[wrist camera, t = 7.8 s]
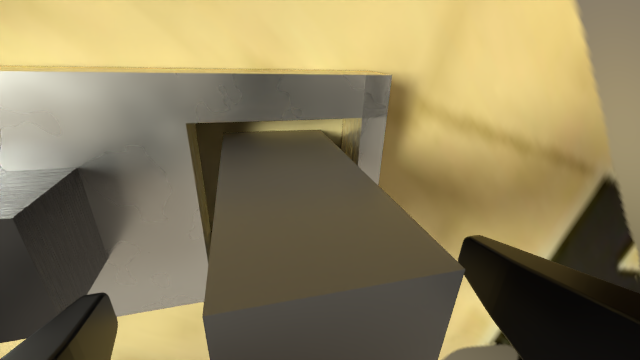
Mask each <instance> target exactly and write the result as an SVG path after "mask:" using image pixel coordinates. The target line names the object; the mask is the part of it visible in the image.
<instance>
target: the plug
mask: <svg viewBox="0 0 640 360" xmlns="http://www.w3.org/2000/svg"><path fill="white" fill-rule="evenodd" d="M464 272H465V269H464V268H463V267H462V266H461V265H460V264H459V263H458V262H457V261H456V260H455V259H454V258H453V257H452V256H451V255H450V254H449V253H448V252H447V251H446V250H445V249H444V248H443V247H442V246H441V245H439V244H438V243H437V242H436V241H435V240H434V239H433V238H432V237H431V236H430V235H429V234H428V233H427V232H426V231H425V230H424V229H423V228H422V227H421V226H420V225H419V224H418V223H417V222H416V221H415V220H413V219H412V218H411V217H410V216H409V215H408V214H407V213H406V212H405V211H404V210H403V209H402V208H401V207H400V206H399V205H398V204H397V203H396V202H395V201H394V200H393V199H392V198H391V197H390V196H389V195H387V194H386V193H385V192H384V191H383V190H382V189H381V188H380V187H379V186H378V185H377V184H376V183H375V182H374V181H373V180H372V179H371V178H370V177H369V176H368V175H367V174H366V173H365V172H364V171H363V170H361V169H360V168H359V167H358V166H357V165H356V164H355V163H354V162H353V161H352V160H351V159H350V158H349V157H348V156H347V155H346V154H345V153H344V152H343V151H342V150H341V149H340V148H339V147H338V146H337V145H336V144H334V143H333V142H332V141H331V140H330V139H329V138H328V137H327V136H326V135H325V134H324V133H323V132H322V131H321V130H298V131H265V132H232V133H223V141H222V149H221V158H220V167H219V176H218V185H217V193H216V202H215V211H214V220H213V229H212V237H211V246H210V255H209V264H208V273H207V281H206V290H205V299H204V308H203V322H204V328H205V333H206V339H207V345H208V351H209V356H210V360H438V357H439V354H440V350H441V347H442V344H443V341H444V337H445V334H446V331H447V327H448V324H449V321H450V318H451V314H452V311H453V308H454V305H455V301H456V298H457V295H458V291H459V288H460V285H461V282H462V278H463V275H464Z"/></svg>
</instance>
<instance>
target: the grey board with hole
mask: <svg viewBox="0 0 640 360" xmlns="http://www.w3.org/2000/svg"><path fill="white" fill-rule="evenodd" d="M391 79H392V75H389V74H384V73H378V72H373V71H344V70H271V69H197V68H124V67H51V66H0V343H3V342H9V341H15V340H20V339H26V338H28V337H29V336H31V335H32V334H33V333H35V332H36V331H37V330H38V329H40V328H41V327H42V326H44V325H45V324H46V323H47V322H49V321H50V320H51V319H53V318H54V317H55V316H57V315H58V314H59V313H60V312H62V311H63V310H64V309H66V308H67V307H68V306H69V305H71V304H72V303H73V302H75V301H76V300H77V299H78V298H80V297H81V296H84V295H88V294H95V293H101V292H104V293H107V294H108V296H109V298H110V300H111V303H112V306H113V309H114V312H115V314H116V317H118V316H123V315H129V314H135V313H141V312H146V311H152V310H158V309H164V308H170V307H175V306H181V305H187V304H193V303H198V302H204V299H205V290H206V281H207V273H208V264H209V255H210V246H211V237H212V235H211V228H210V221H209V215H208V208H207V201H206V194H205V187H204V181H203V174H202V167H201V160H200V153H199V147H198V140H197V133H196V126H195V123H214V122H247V121H280V120H314V119H343V131H342V147H341V150H342V151H343V152H344V153H345V154H346V155H347V156H348V157H349V158H350V159H351V160H352V161H353V162H354V163H355V164H356V165H357V166H358V167H359V168H360V169H361V170H363V171H364V172H365V173H366V174H367V175H368V176H369V177H370V178H371V179H372V180H373V181H374V182H375V183H376V184H377V185H378V184H379V176H380V168H381V160H382V152H383V144H384V136H385V128H386V120H387V112H388V103H389V95H390V87H391Z"/></svg>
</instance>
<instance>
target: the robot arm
mask: <svg viewBox="0 0 640 360" xmlns="http://www.w3.org/2000/svg"><path fill="white" fill-rule="evenodd" d="M458 263H459V264H460V265H461V266H462V267H463V268H464V269H465V272H464V275H465V277H466V279H467V280H468V282H469V283H470V285H471V287H472V288H473V290H474V291H475V293H476V295H477V296H478V298H479V299H480V301H481V302H482V304H483V306H484V307H485V309H486V310H487V312H488V313H489V315H490V316H491V318H492V319H493V321H494V322H495V323H496V325H497V326H498V327H499V329H500V330H501V331H502V333H503V334H504V335H505V337H506V338H507V339H508V341H509V342H510V343H511V345H512V346H513V347H514V349H515V350H516V351H517V353H518V354H519V355H520V357H521V358H522V359H523V360H640V293H637V292H635V291H632V290H629V289H626V288H624V287H621V286H618V285H616V284H613V283H610V282H607V281H605V280H602V279H599V278H596V277H594V276H591V275H588V274H585V273H583V272H580V271H577V270H574V269H572V268H569V267H566V266H563V265H561V264H558V263H555V262H552V261H550V260H547V259H544V258H541V257H539V256H536V255H533V254H531V253H528V252H525V251H522V250H520V249H517V248H514V247H511V246H509V245H506V244H503V243H500V242H498V241H495V240H492V239H489V238H487V237H484V236H481V235H475V236H468V237H466V238H465V239H464V241H463V244H462V248H461V251H460V255H459V258H458ZM117 328H118V322H117V317H116V314H115V312H114V309H113V306H112V303H111V300H110V298H109V296H108V294H107V293H104V292H101V293H95V294H88V295H84V296H81V297H80V298H78V299H77V300H76V301H75V302H73V303H72V304H71V305H69V306H68V307H67V308H66V309H64V310H63V311H62V312H60V313H59V314H58V315H57V316H55V317H54V318H53V319H51V320H50V321H49V322H47V323H46V324H45V325H44V326H42V327H41V328H40V329H38V330H37V331H36V332H35V333H33V334H32V335H31V336H29V337H28V338H27V339H26V340H24V341H23V342H22V343H20V344H19V345H18V346H17V347H15V348H14V349H13V350H11V351H10V352H9V353H8V354H6V355H5V356H4V357H2V358H1V359H0V360H111V355H112V351H113V347H114V342H115V338H116V334H117Z"/></svg>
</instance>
